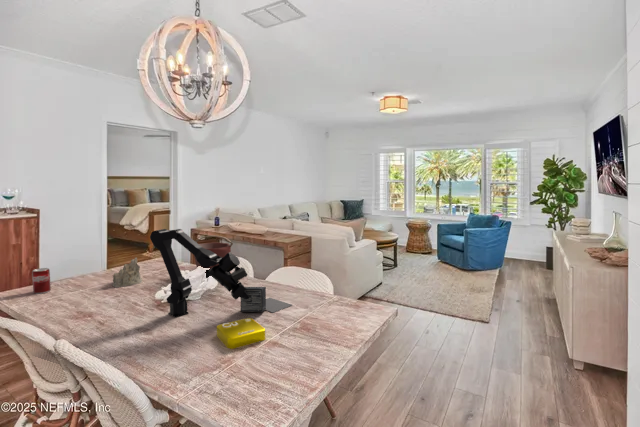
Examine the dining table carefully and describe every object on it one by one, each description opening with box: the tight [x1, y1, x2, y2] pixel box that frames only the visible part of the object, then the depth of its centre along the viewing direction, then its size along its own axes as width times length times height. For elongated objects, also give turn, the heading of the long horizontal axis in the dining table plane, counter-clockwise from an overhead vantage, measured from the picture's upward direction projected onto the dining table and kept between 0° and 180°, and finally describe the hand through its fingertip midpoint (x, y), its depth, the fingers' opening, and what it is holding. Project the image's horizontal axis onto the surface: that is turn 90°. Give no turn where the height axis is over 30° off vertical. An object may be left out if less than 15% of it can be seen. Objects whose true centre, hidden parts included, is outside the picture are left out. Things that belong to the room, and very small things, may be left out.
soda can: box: [31, 267, 52, 295], centre depth 185 cm, size 7×7×12 cm
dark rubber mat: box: [264, 297, 293, 314], centre depth 171 cm, size 13×16×1 cm
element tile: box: [216, 317, 266, 350], centre depth 136 cm, size 15×15×5 cm
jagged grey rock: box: [111, 257, 143, 288], centre depth 203 cm, size 16×16×15 cm
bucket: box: [193, 234, 234, 269], centre depth 222 cm, size 24×22×25 cm
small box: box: [240, 286, 267, 313], centre depth 162 cm, size 11×6×10 cm, turn 84°
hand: (248, 298), depth 159 cm, fingers closed
